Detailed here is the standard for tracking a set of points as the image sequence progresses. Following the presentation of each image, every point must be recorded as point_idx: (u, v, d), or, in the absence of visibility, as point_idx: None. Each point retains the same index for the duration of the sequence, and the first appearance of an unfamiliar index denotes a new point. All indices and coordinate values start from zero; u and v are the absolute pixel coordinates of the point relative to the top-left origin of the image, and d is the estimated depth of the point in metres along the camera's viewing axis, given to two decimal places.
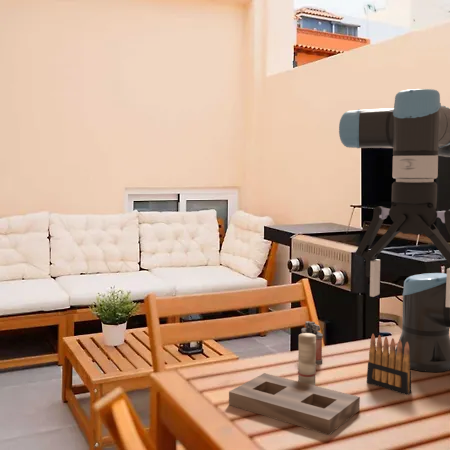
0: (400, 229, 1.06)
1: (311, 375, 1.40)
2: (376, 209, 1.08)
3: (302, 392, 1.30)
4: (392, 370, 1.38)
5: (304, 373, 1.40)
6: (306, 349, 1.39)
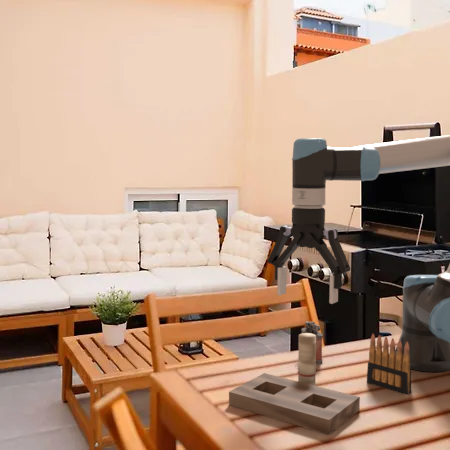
0: (298, 243, 1.38)
1: (311, 375, 1.40)
2: (281, 228, 1.40)
3: (302, 392, 1.30)
4: (392, 370, 1.38)
5: (304, 373, 1.40)
6: (307, 349, 1.39)
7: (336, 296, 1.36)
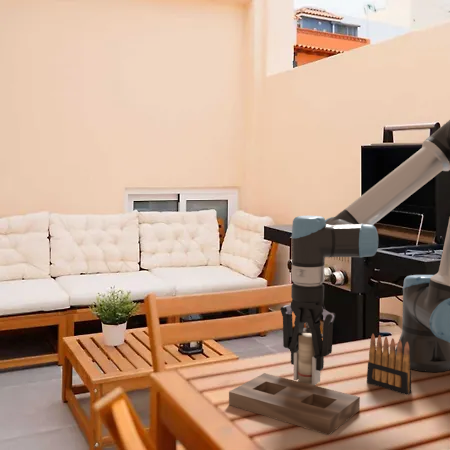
0: (302, 319, 1.40)
1: (311, 375, 1.40)
2: (281, 309, 1.42)
3: (302, 392, 1.30)
4: (392, 370, 1.38)
5: (304, 373, 1.40)
6: (306, 349, 1.39)
7: (318, 377, 1.40)
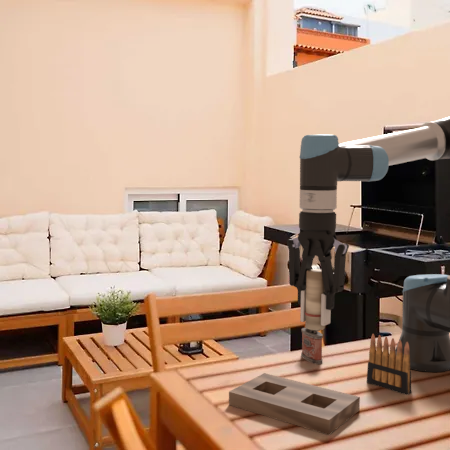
0: (310, 252, 1.24)
1: (320, 315, 1.24)
2: (288, 241, 1.27)
3: (302, 392, 1.30)
4: (392, 370, 1.38)
5: (312, 313, 1.24)
6: (315, 285, 1.23)
7: (328, 317, 1.24)
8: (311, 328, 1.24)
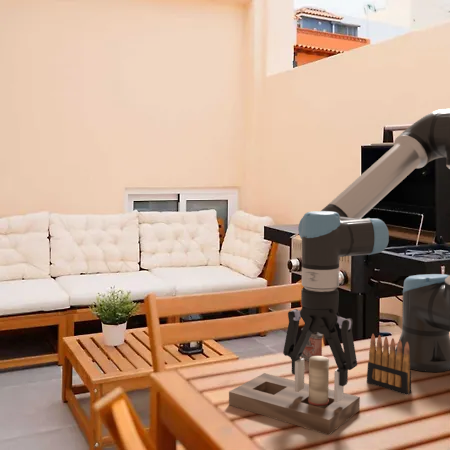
0: (311, 329, 1.23)
1: (323, 404, 1.23)
2: (289, 313, 1.26)
3: (302, 392, 1.30)
4: (392, 370, 1.38)
5: (315, 402, 1.23)
6: (318, 375, 1.23)
7: (341, 393, 1.22)
8: None
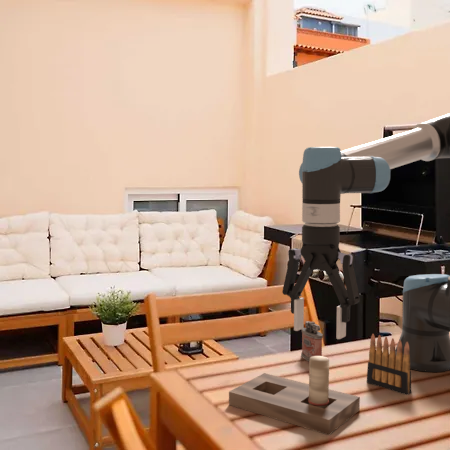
0: (311, 266, 1.22)
1: (323, 404, 1.23)
2: (290, 251, 1.24)
3: (302, 392, 1.30)
4: (392, 370, 1.38)
5: (316, 402, 1.23)
6: (319, 375, 1.23)
7: (344, 330, 1.21)
8: None
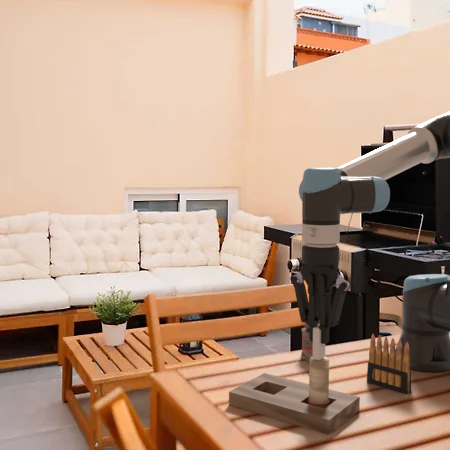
0: (316, 286, 1.22)
1: (324, 404, 1.23)
2: (291, 278, 1.25)
3: (302, 392, 1.30)
4: (392, 370, 1.38)
5: (316, 402, 1.23)
6: (319, 375, 1.23)
7: (323, 351, 1.24)
8: None
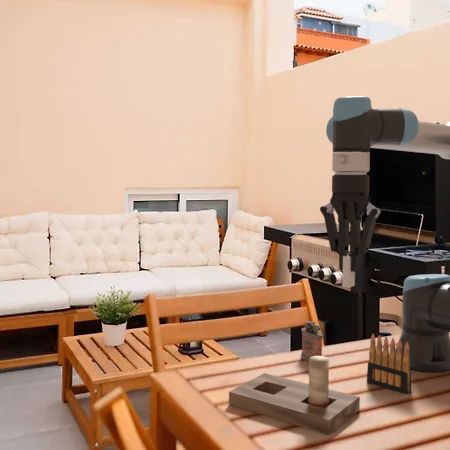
0: (346, 214, 1.24)
1: (323, 404, 1.23)
2: (321, 208, 1.27)
3: (302, 392, 1.30)
4: (392, 370, 1.38)
5: (316, 402, 1.23)
6: (318, 375, 1.23)
7: (353, 280, 1.26)
8: None
